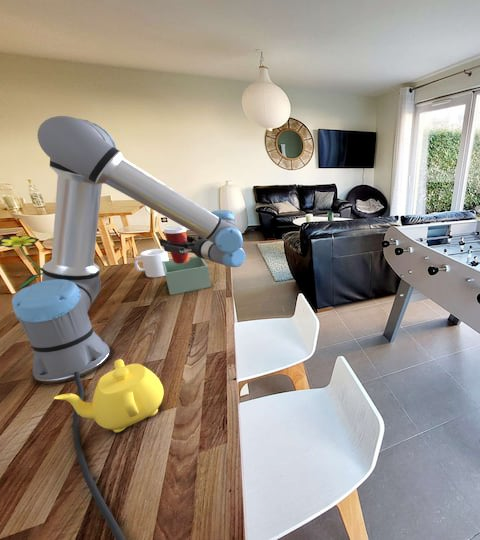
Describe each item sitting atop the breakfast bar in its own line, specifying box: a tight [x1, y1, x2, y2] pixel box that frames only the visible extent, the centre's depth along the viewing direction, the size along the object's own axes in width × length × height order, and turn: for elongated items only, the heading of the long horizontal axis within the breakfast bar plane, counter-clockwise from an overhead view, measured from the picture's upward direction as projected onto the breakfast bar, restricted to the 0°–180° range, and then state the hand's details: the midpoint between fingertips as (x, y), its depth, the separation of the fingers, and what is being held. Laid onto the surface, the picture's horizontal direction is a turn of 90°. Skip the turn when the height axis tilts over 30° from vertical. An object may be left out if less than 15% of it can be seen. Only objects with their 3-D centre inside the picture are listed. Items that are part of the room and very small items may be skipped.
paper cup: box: [163, 225, 190, 264], centre depth 114 cm, size 8×8×14 cm
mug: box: [133, 248, 170, 278], centre depth 135 cm, size 14×10×11 cm
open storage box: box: [162, 255, 212, 296], centre depth 126 cm, size 16×16×10 cm
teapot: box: [53, 358, 165, 433], centre depth 64 cm, size 14×14×12 cm
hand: (171, 239), depth 115 cm, fingers closed on paper cup, 8 cm apart
